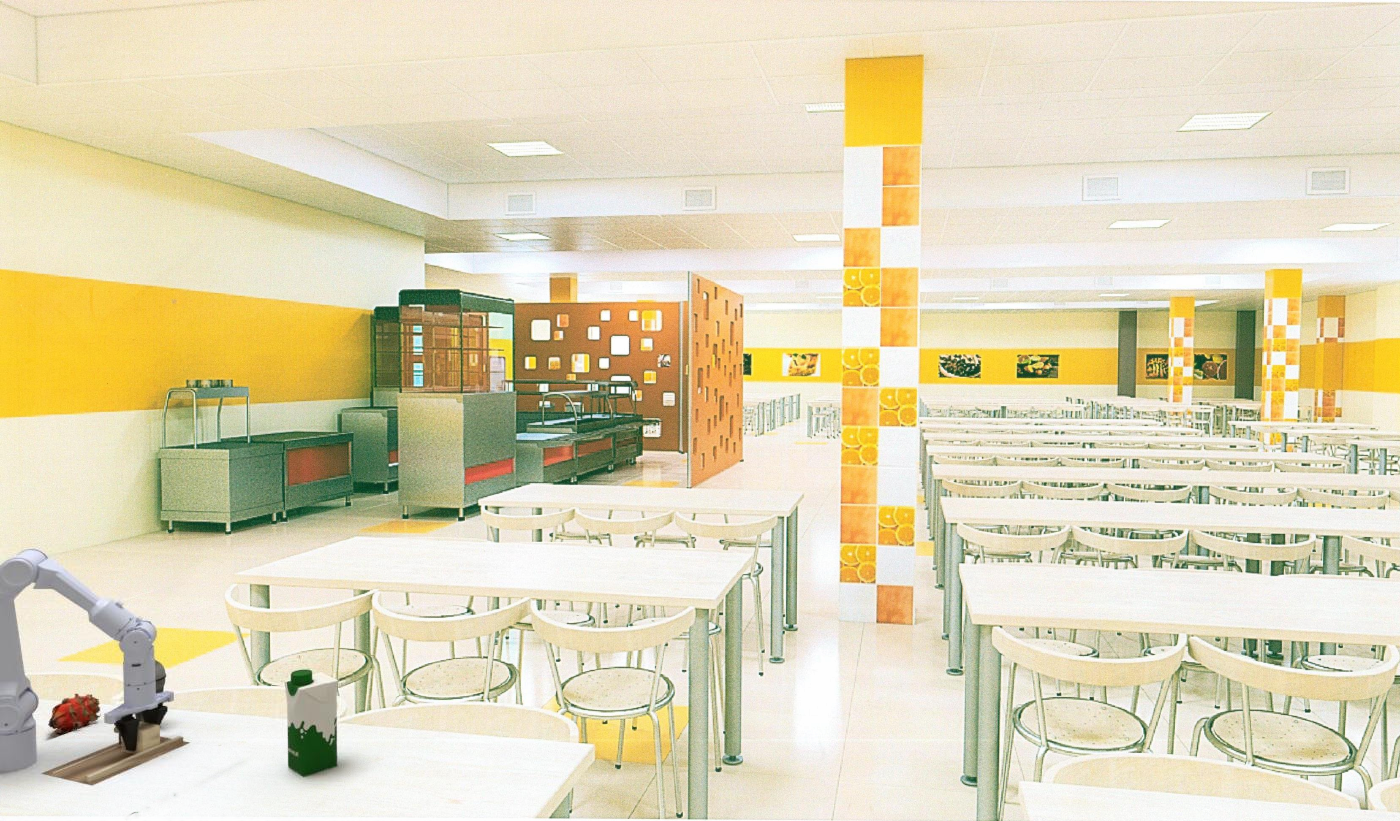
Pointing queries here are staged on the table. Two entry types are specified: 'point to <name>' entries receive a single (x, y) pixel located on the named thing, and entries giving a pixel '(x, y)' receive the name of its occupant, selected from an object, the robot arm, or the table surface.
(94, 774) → the walnut board
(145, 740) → the block
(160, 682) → the beverage cup
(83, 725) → the dragon fruit
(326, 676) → the milk carton
